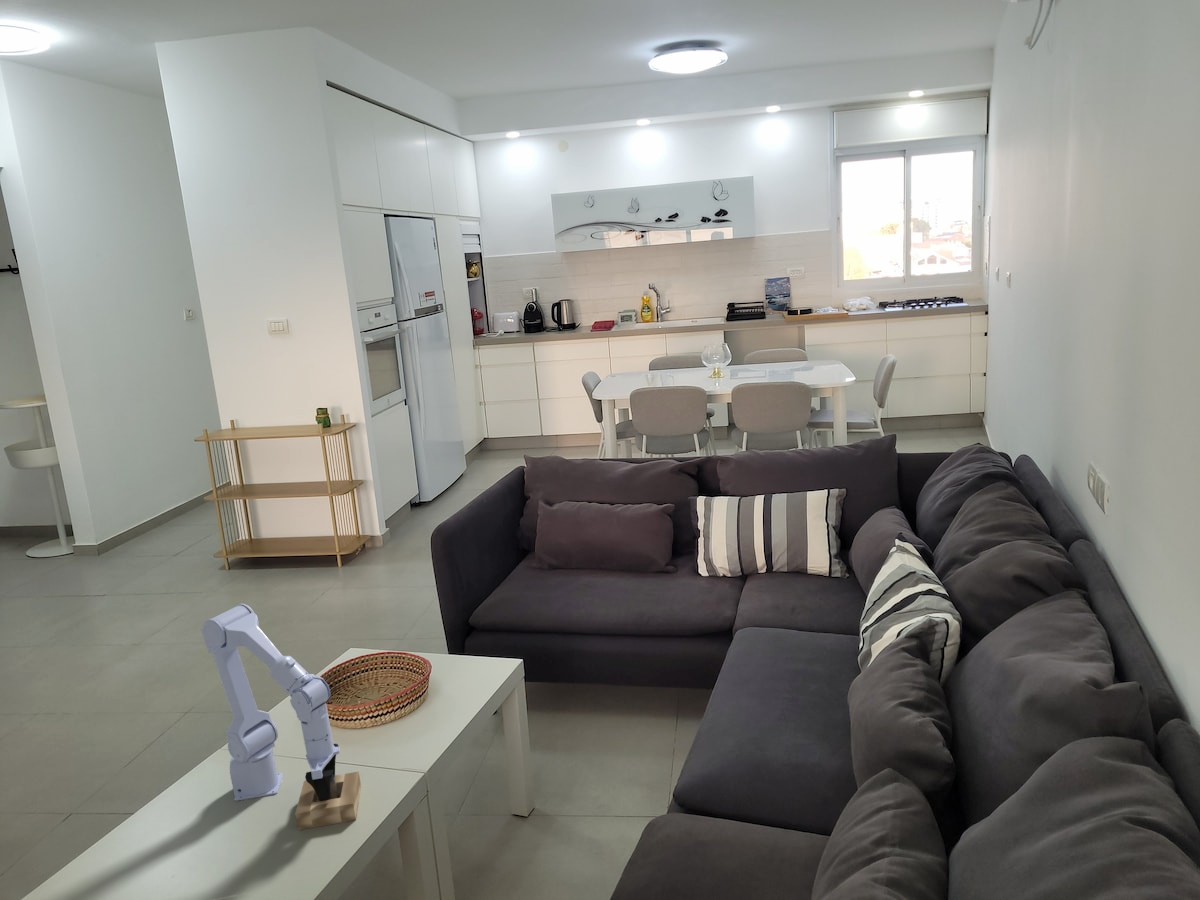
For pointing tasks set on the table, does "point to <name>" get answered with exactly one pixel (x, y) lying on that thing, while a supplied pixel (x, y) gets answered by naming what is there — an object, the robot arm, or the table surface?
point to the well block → (329, 803)
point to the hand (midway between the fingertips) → (327, 789)
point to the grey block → (334, 788)
